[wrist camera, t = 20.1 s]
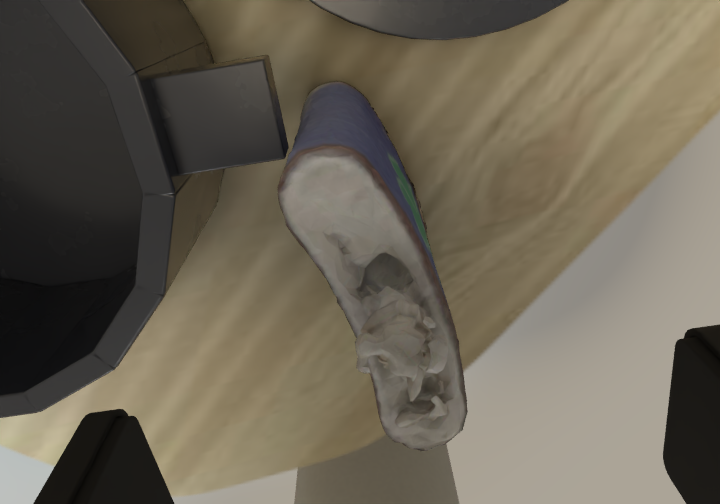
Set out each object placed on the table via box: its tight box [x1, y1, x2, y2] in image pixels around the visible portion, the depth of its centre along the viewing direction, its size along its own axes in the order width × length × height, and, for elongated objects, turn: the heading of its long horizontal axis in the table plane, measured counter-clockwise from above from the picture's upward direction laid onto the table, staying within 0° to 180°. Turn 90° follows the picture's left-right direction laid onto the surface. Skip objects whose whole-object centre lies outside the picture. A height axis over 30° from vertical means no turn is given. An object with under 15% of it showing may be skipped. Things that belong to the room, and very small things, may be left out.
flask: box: [278, 81, 467, 451], centre depth 17 cm, size 9×3×11 cm, turn 21°
